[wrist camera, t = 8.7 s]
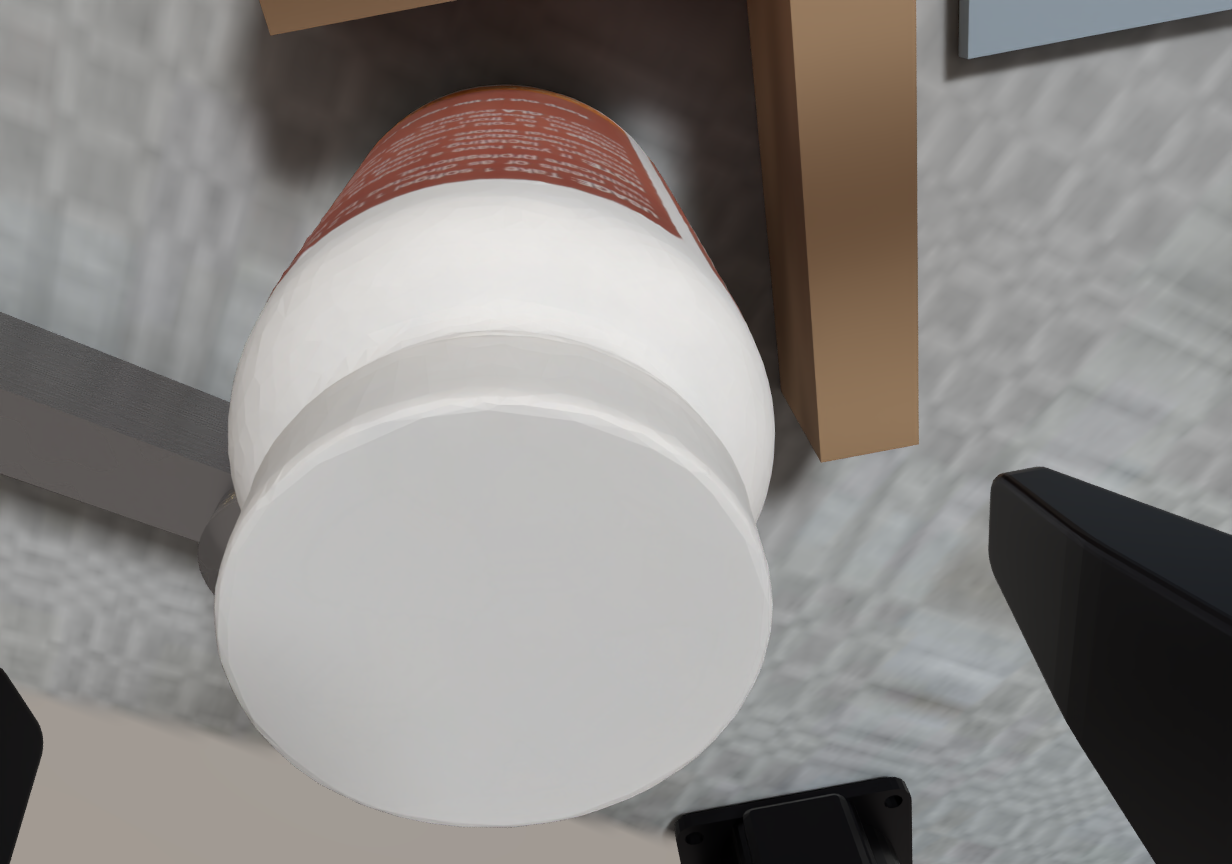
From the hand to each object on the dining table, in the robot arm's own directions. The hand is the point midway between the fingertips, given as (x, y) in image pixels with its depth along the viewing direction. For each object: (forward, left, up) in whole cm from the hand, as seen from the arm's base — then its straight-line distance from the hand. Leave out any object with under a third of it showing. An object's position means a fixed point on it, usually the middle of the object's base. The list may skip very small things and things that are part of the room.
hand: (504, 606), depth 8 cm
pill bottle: (0, 0, -11) cm, 11 cm away
